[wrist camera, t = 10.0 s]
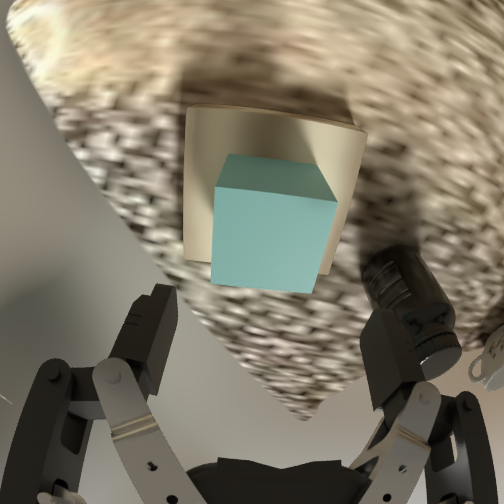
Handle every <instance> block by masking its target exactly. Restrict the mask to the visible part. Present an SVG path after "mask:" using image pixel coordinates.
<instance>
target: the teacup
mask: <svg viewBox="0 0 504 504" xmlns="http://www.w3.org/2000/svg"><path fill="white" fill-rule="evenodd" d="M480 359H482V361H481V375H480V376H479V377H474V376H473V374H472V369H473V367H474V366H475V365H476V363H478V361H479V360H480ZM468 374H469V377H470V380H471V382H473V383H480V382H481V381H483V385H484V388H485V389H486V390H487V391H489V392H490V391H495V390H497V389H499V388H501V387H503V386H504V325H503V326H501V327H499V328H498V329H497V330H496V331H494V332H493V333H492V334H491V335H490V336H489V338H488V339H487V341H486V344H485V348H484V351H483V353H482V354H481V355H480V356H478V357H477V358H476V359H475V360H474V361H473V362H472V363H471V365H470V367H469V372H468Z"/></svg>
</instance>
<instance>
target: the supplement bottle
mask: <svg viewBox="0 0 504 504" xmlns="http://www.w3.org/2000/svg"><path fill="white" fill-rule="evenodd" d="M363 286H364V289H365V292H366V295H367V297H368V300H369V302H370V305H371V307H372V310H373V311H374V310H375V309H389V310H393V311H394V313H395V316H396V318H397V321H398V322H401V323H402V324H403V325H404V326H405V328H406V329H407V330H408V331H409V334H410V337H411V339H412V344H413V345H414V347H415V352H416V353H417V356H418V358H419V361H420V364H421V367H422V370H423V373H424V376H425V379H426V381H428V380H432V379H434V378H436V377H438V376H440V375H442V374H444V373H445V372H446V371H448V370H449V369H450V368H452V367H453V366H454V365H455V364H456V363H457V361H458V360H459V358H460V357H461V354H462V348H461V346H460V344H459V342H458V340H457V335H456V334H455V332H454V331H453V328H454V325H455V319H456V315H455V310H454V308H453V306H452V304H451V302H450V300H449V299H448V297H447V296H446V294H445V292H444V291H443V289H442V288H441V286H440V284H439V283H438V281H437V280H436V278H435V277H434V275H433V274H432V272H431V271H430V269H429V268H428V266H427V265H426V263H425V262H424V260H423V259H422V258H421V256H420V255H419V254H418V252H417V251H415V250H414V249H413V248H411V247H408V246H402V245H399V246H392V247H389V248H386V249H384V250H382V251H381V252H379V253H378V254H377V255H375V256H374V257H373V258H372V259H371V261H370V262H369V263H368V265H367V267H366V269H365V271H364V274H363Z"/></svg>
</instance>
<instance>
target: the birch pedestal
mask: <svg viewBox="0 0 504 504" xmlns="http://www.w3.org/2000/svg"><path fill="white" fill-rule="evenodd" d="M367 136H368V133H367V132H365V131H363V130H362V129H360V128H358V127H357V126H355V125H351V124H346V123H342V122H337V121H333V120H328V119H323V118H318V117H312V116H307V115H301V114H295V113H289V112H282V111H275V110H268V109H260V108H251V107H241V106H230V105H217V104H200V103H196V104H194V105H192V106H189V107H187V110H186V127H185V149H184V186H183V240H184V259H187V260H196V261H204V262H211V258H212V234H213V214H214V196H215V186H216V183H217V181H218V178H219V176H220V173H221V171H222V168H223V166H224V163H225V161H226V158H227V156H228V154H236V155H245V156H254V157H263V158H271V159H278V160H286V161H292V162H299V163H306V164H312V165H318V167H319V169H320V171H321V172H322V174H323V176H324V178H325V179H326V181H327V183H328V185H329V187H330V188H331V190H332V192H333V194H334V196H335V198H336V199H337V201H338V205H337V208H336V212H335V216H334V220H333V223H332V227H331V230H330V234H329V237H328V241H327V244H326V248H325V251H324V255H323V258H322V261H321V265H320V268H319V271H318V274H325V275H328V274H329V271H330V268H331V265H332V262H333V258H334V255H335V252H336V249H337V246H338V243H339V240H340V236H341V233H342V230H343V227H344V223H345V220H346V216H347V213H348V210H349V206H350V202H351V199H352V195H353V192H354V188H355V184H356V180H357V177H358V173H359V169H360V165H361V161H362V157H363V153H364V149H365V144H366V140H367Z"/></svg>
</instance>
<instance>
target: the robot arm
mask: <svg viewBox="0 0 504 504" xmlns="http://www.w3.org/2000/svg"><path fill="white" fill-rule="evenodd" d="M177 321H178V307H177V294H176V287H175V286H171V285H164V284H158V283H157V284H156V285H155V287H154V289H153V291H152V294H151V296H149V295H141V296H140V297H139V298H138V299H137V300H136V301H134V302H133V304H132V306H131V308H130V311H129V313H128V315H127V317H126V319H125V321H124V322H125V323H124V324H123V326H122V328H121V330H120V332H119V335H118V337H117V339H116V341H115V344H114V346H113V348H112V351H111V353H110V355H109V357H108V358H107V359H104V360H102V361H100V362H99V363H98V364H97V365H96V366H94V367H86V368H70V367H69V365H68V364H67V363H66V362H65V361H64V360H61V359H56V358H54V359H50V360H47V361H46V362H45V363H43V364H42V365H41V367H40V368H39V370H38V372H37V375H36V377H35V380H34V382H33V384H32V387H31V389H30V392H29V395H28V397H27V400H26V402H25V405H24V408H23V410H22V413H21V416H20V419H19V422H18V425H17V428H16V431H15V434H14V437H13V441H12V444H11V447H10V451H9V455H8V458H7V462H6V466H5V471H4V475H3V479H2V484H1V489H0V504H87V503H86V501H85V500H84V499H83V498H82V497H81V496H80V495H79V494H77V493H78V487H79V482H80V477H81V472H82V467H83V462H84V457H85V453H86V449H87V444H88V440H89V436H90V432H91V428H92V424H93V420H96V419H107V421H108V423H109V426H110V429H111V432H112V433H111V437H112V440H113V443H114V445H115V448H116V450H117V452H118V454H119V456H120V459H121V461H122V463H123V465H124V467H125V469H126V471H127V473H128V475H129V477H130V479H131V481H132V483H133V485H134V486H135V488H136V490H137V492H138V494H139V495H140V497H141V499H142V501H143V502H144V504H406V503H407V502H408V500H409V498H410V496H411V494H412V492H413V490H414V488H415V486H416V484H417V482H418V480H419V477H420V475H421V473H422V470H423V469H425V479H426V489H427V504H498V494H497V486H496V478H495V471H494V465H493V459H492V454H491V449H490V444H489V440H488V435H487V431H486V427H485V423H484V419H483V416H482V412H481V408H480V405H479V402H478V399H477V398H476V397H475V395H473V394H472V393H471V392H468V391H463V392H461V393H460V394H459V395H458V396H456V397H455V398H454V397H450V396H445V395H441V394H440V392H439V390H438V389H437V388H436V386H434V385H433V384H432V383H430V382H426V379H425V376H424V373H423V370H422V367H421V364H420V361H419V358H418V356H417V353H416V352H415V347H414V345H413V344H412V339H411V337H410V334H409V331H408V330H407V329H406V328H405V326H404V325H403V324H402V323H401V322H398V321H397V318H396V316H395V313H394V311H393V310H389V309H375V310H374V311H373V312H372V314H371V316H370V318H369V320H368V322H367V323H366V325H365V327H364V329H363V331H362V333H361V336H360V349H361V353H362V357H363V362H364V366H365V371H366V375H367V380H368V384H369V390H370V395H371V400H372V405H373V411H374V412H375V411H383V412H384V416H383V417H382V418H381V420H380V422H379V424H378V426H377V427H376V429H375V431H374V433H373V435H372V436H371V438H370V440H369V442H368V443H367V445H366V446H365V448H364V450H363V451H362V453H361V454H360V455H359V456H358V457H357V458H356V459H355V460H354V461H353V462H352V464H351V465H350V466H349V468H347V467H344V466H342V465H341V460H333V461H315V462H309V463H306V464H302V465H298V466H294V467H289V468H285V469H279V468H275V467H271V466H267V465H263V464H260V463H256V462H253V461H250V460H238V459H228V458H219V457H218V461H217V462H216V463H208V464H203V465H200V466H197V467H194V468H192V469H190V470H188V471H187V472H185V470H184V469H183V467H182V466H181V464H180V462H179V461H178V459H177V458H176V456H175V454H174V453H173V451H172V449H171V447H170V446H169V444H168V442H167V440H166V439H165V437H164V435H163V433H162V431H161V430H160V428H159V426H158V424H157V422H156V420H155V419H154V417H153V415H152V413H151V411H150V409H149V407H148V405H147V399H148V396H149V394H151V395H156V396H157V394H158V390H159V386H160V382H161V379H162V375H163V372H164V368H165V365H166V361H167V358H168V354H169V351H170V347H171V344H172V340H173V337H174V334H175V330H176V326H177ZM453 434H454V436H455V441H456V447H457V452H458V457H457V460H456V462H455V461H454V455H453V449H452V443H451V438H450V436H451V435H453Z"/></svg>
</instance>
